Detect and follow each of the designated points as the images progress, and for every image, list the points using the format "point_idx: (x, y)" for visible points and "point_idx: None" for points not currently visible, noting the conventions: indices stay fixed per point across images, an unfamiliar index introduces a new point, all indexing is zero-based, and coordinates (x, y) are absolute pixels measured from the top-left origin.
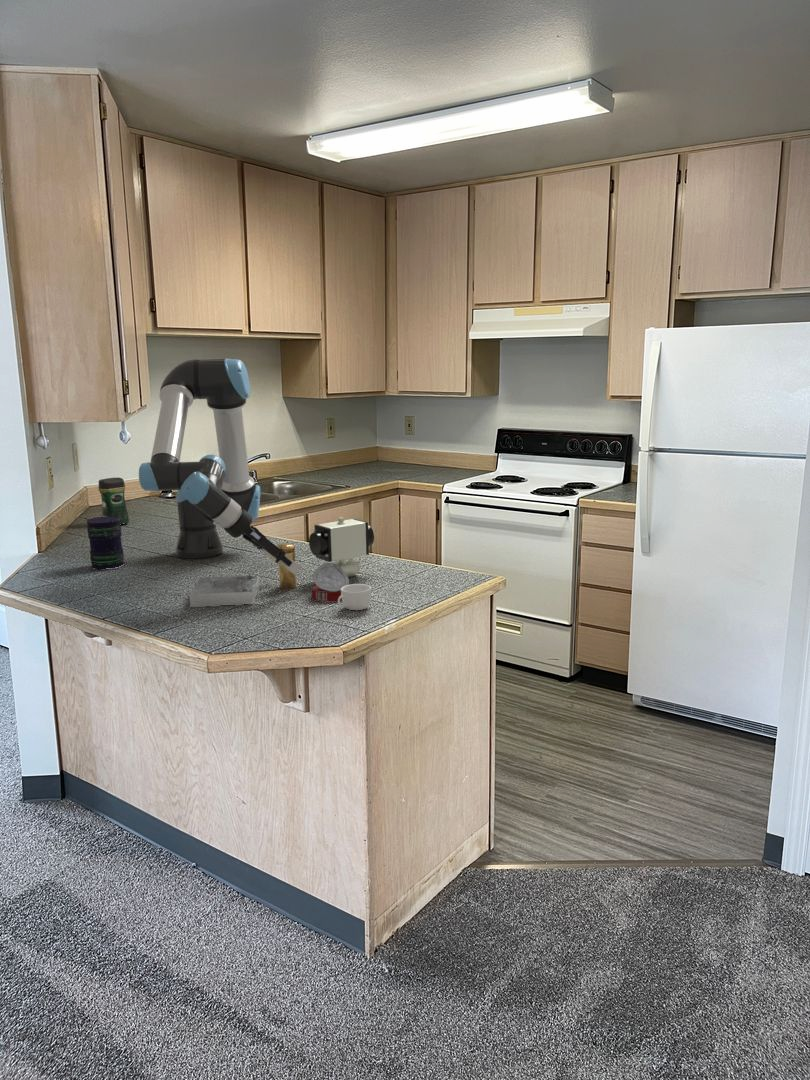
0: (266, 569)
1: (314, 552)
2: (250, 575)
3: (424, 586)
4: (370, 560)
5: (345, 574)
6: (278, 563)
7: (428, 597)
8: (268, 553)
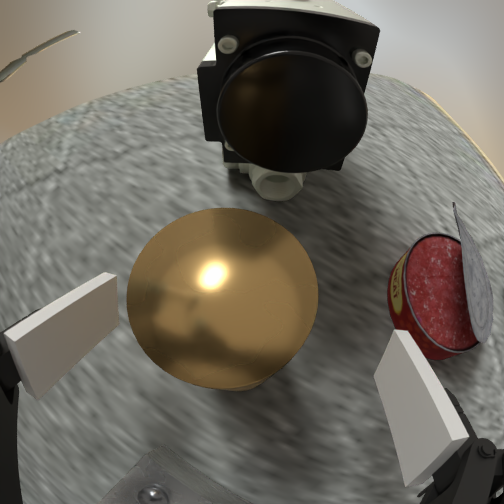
0: (25, 270)
1: (280, 159)
2: (147, 497)
3: (426, 132)
4: (194, 87)
5: (457, 215)
6: (118, 317)
7: (482, 171)
8: (64, 356)
